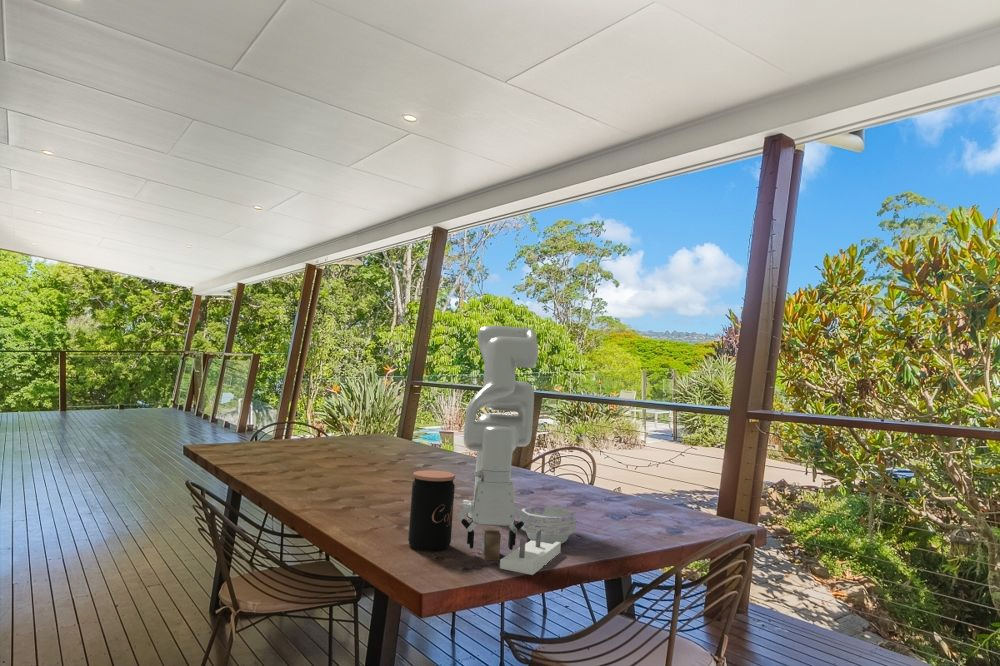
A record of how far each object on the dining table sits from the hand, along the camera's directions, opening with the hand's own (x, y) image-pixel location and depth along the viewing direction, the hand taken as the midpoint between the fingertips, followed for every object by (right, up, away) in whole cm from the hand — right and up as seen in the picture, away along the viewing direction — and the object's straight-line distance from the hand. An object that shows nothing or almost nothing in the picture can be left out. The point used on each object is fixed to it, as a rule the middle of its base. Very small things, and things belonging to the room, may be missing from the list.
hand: (490, 547), depth 151 cm
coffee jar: (-16, -1, +5) cm, 16 cm away
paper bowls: (+15, -4, +17) cm, 23 cm away
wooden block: (0, -2, 0) cm, 2 cm away
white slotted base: (+10, -2, -2) cm, 10 cm away
